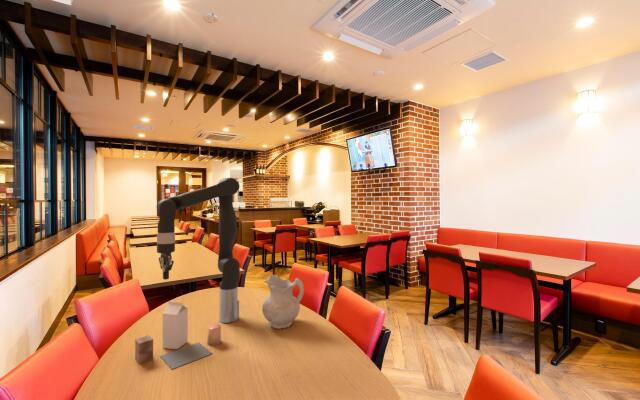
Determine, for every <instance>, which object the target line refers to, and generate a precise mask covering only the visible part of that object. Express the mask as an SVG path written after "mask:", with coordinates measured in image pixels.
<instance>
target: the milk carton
mask: <svg viewBox="0 0 640 400" xmlns="http://www.w3.org/2000/svg"><path fill="white" fill-rule="evenodd" d="M188 310H189V308H188V307H186V306H185V305H184V303H183V302H181V301H173V300H172V301H171V300H170V301H168V302H167V305H166V307H165V309H164V310H163V312H162V348H163V349H171V350H178V349H180V348H182V346H183V345H185V344H186V343H188V335H189V334H188V330H189V329H188V327H189V326H188V325H189V323H188V321H189V318H188V317H189V316H188V315H189V314H188Z"/></svg>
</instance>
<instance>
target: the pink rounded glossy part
mask: <svg viewBox="0 0 640 400" xmlns="http://www.w3.org/2000/svg"><path fill="white" fill-rule="evenodd" d="M221 332H222V325H221V324H216V323H215V324H210V325H209V326H207V343H206V344H207V345H208V346H211V347H213V346H214V347H215V346H218V345H220V344H221V343H222V333H221Z"/></svg>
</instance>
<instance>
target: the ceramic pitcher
mask: <svg viewBox="0 0 640 400" xmlns="http://www.w3.org/2000/svg"><path fill="white" fill-rule="evenodd" d="M264 282H265V283H266V284H267V285H268V288H269V292H270V294H269V296H268V297H267V298H265V299H264V301H263V303H262V310H261V311H262V314H263V316H264V319H265V320H267V321H268V322H269V323H270V324H269V326H270V327H271V328H273V329H275V328H276V330H281V328H283V329H287V328H286V327H288V328H290V327H289V326H290V325H291V324H292V323H293V321H295V320H296V319H297V317H298V316H299V314H300V313H299V312H300V308H301V303H300V302H301V301H302V298H303V296H304V293H305V292H304V291H305V290H304V287H305V286H304V284H303V281H302V279H301V278H300V277H296V278H294V281H293V282H291V281H290V280H289V279H288V278H280V276H279V275H275V274H271V275H269V276H268V277H267V278H266V279H265V280H264ZM297 286H298V287H299V292H298V295H297V297H296V296H294V295H293V289H294V287H297Z"/></svg>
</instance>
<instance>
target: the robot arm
mask: <svg viewBox="0 0 640 400" xmlns="http://www.w3.org/2000/svg"><path fill="white" fill-rule="evenodd" d="M239 189H240V183H239V181H238V180H237V179H236V178H233V177H225V178H224V177H223V178H222V179H220V180H219V181H218V183H216V184H214V185H210V186H208V187H203V188H199V189H195V190H191V191H188V192H184V193H181V194H179V195H176V196H171V197H167V198H164V199H161V200H159V201H158V202H157V204H156V209H157V211H158V212H159V214H158V216H159V218H158V219H159V220H158V222H157V233H156V234H157V235H156V253H158V254H160V257H158V262H159V265H160V269H161V271H162V279H163V280H164V281H165V280H169V279H170V271H172V268H173V265H174V260H173V256H172V253H174V252H176V234H175V226H176V225H175V220H176V215H177V213H176V212H177V211H178V210H181V209H188V208H190V207H193V206H196V205H199V204H201V203H204V202H207V201H209V200H213V199H216V198H218V245H219V247H218V248H219V249H218V257H217V268H218V270H219V272H220V273H222V277H221V278H222V280H221V281H220V282H219V312H218V314H219V316H218V317H219V320H218V321H219V322H220V323H223V324H229V323H233V322H235V321H237V320H239V319H240V300H239V299H238V298H239V297H238V296H239V295H238V294H239V291H238V289H239V288H238V287H239V283H240V272H241V271H240V269H241V268H240V267H241V264H240V262H239V260H238V259H236V258H235V257H234V255H233V253H234V252H233V249H234V248H233V247H234V242H235V239H236V236H237V231H238V220H237V215H236V212H235V209H234V204H233V201H234V197H233V196H234V195H235V194H237V193H238V192H239Z"/></svg>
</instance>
